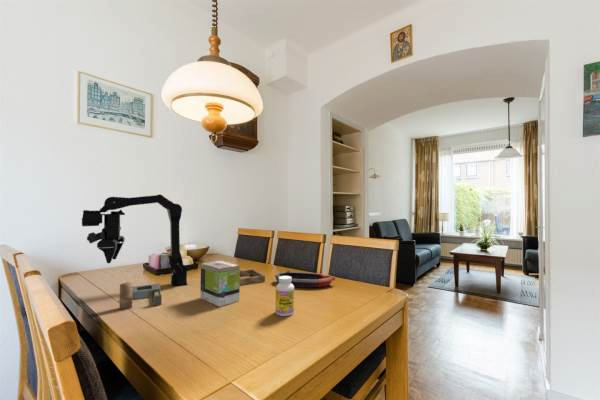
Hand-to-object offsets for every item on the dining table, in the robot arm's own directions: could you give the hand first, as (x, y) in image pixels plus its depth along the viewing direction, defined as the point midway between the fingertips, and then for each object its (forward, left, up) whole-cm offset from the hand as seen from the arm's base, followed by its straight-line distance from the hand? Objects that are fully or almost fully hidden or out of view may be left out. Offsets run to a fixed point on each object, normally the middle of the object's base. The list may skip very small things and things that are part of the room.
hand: (111, 261), depth 117 cm
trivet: (-58, +6, -14) cm, 60 cm away
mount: (-13, +8, -14) cm, 21 cm away
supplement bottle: (-57, +56, -15) cm, 81 cm away
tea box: (-40, +30, -15) cm, 52 cm away
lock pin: (-17, +19, -14) cm, 29 cm away
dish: (-82, +28, -15) cm, 88 cm away
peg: (-7, +22, -14) cm, 27 cm away
